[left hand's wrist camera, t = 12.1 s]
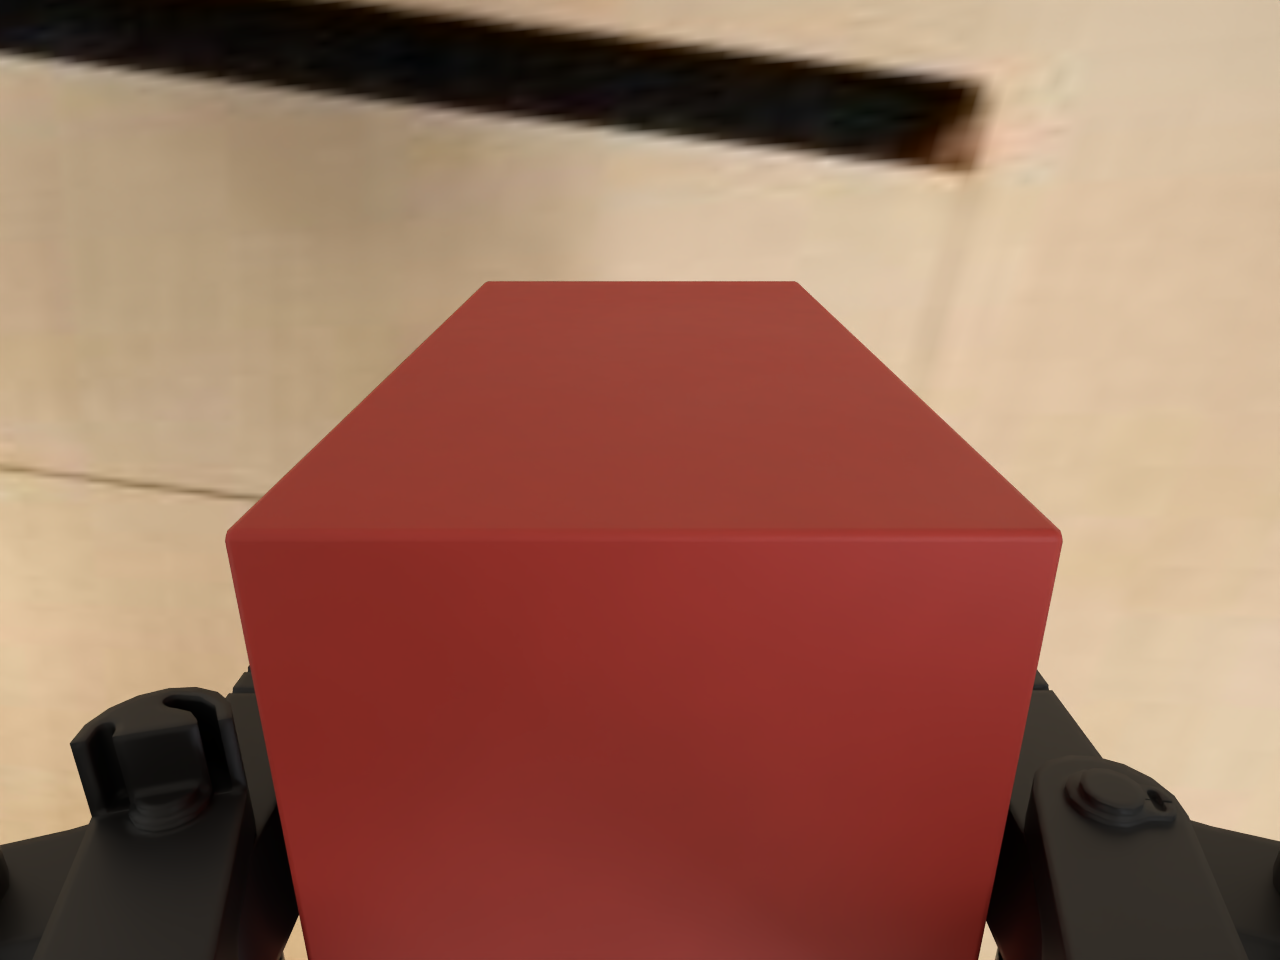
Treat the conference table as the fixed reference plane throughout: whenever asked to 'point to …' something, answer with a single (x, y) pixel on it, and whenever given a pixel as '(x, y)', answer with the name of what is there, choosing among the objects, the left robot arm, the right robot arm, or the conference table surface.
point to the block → (643, 641)
